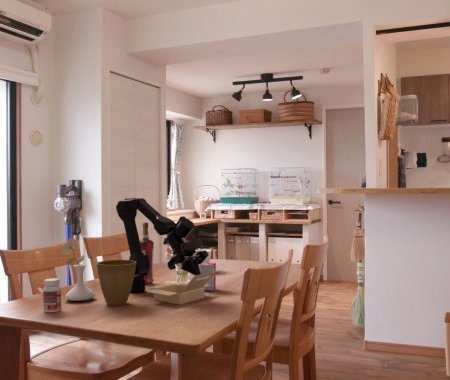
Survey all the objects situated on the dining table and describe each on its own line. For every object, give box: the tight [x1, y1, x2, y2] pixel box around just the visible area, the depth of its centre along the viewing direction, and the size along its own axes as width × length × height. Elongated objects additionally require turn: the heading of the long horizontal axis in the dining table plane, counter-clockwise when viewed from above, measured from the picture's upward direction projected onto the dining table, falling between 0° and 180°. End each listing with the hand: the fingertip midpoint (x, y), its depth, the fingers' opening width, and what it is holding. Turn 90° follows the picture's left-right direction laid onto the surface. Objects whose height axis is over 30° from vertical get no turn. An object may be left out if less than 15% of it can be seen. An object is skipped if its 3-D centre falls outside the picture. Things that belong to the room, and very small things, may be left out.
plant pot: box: [96, 259, 136, 307], centre depth 196 cm, size 15×15×16 cm
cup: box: [199, 248, 212, 268], centre depth 266 cm, size 12×12×11 cm
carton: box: [146, 281, 211, 306], centre depth 204 cm, size 19×24×4 cm
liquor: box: [139, 221, 155, 285], centre depth 236 cm, size 7×7×28 cm
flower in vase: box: [60, 237, 96, 302], centre depth 203 cm, size 13×11×25 cm
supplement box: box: [200, 262, 217, 292], centre depth 219 cm, size 6×6×12 cm
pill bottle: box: [42, 277, 62, 313], centre depth 186 cm, size 6×6×11 cm
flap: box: [182, 271, 217, 292], centre depth 196 cm, size 1×12×10 cm
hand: (200, 276), depth 196 cm, fingers closed
